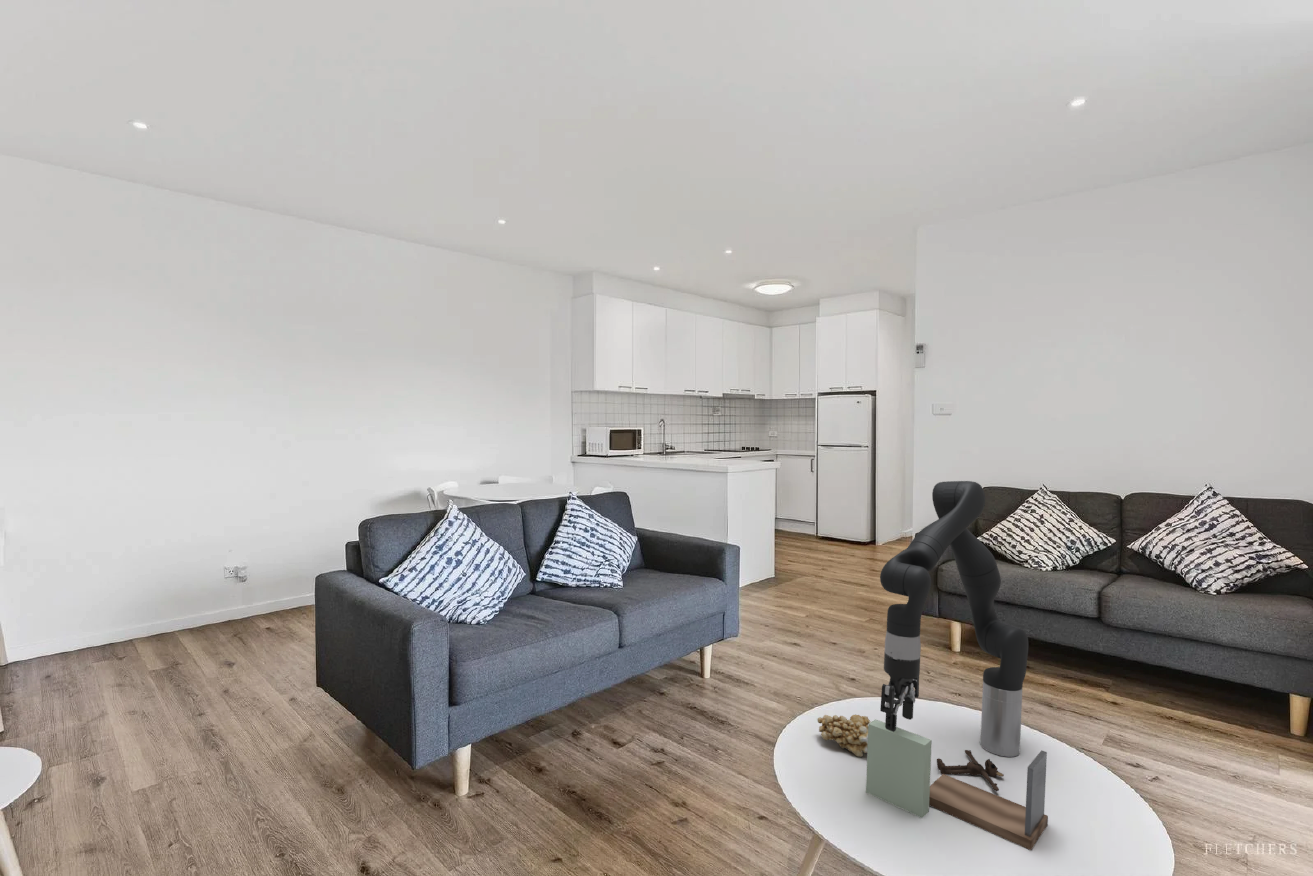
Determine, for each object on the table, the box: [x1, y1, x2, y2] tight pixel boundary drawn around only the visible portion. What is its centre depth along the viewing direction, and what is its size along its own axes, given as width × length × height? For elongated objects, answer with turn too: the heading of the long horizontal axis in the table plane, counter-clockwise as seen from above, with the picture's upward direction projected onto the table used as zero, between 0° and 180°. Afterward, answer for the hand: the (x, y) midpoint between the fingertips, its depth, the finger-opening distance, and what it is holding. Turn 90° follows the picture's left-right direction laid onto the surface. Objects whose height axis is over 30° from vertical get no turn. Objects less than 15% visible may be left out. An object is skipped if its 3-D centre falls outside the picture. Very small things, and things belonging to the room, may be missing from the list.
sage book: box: [865, 718, 932, 819], centre depth 144 cm, size 4×13×16 cm, turn 45°
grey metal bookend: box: [1025, 750, 1048, 837], centre depth 134 cm, size 10×1×14 cm, turn 135°
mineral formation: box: [816, 714, 872, 758], centre depth 170 cm, size 8×13×15 cm
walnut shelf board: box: [929, 774, 1049, 851], centre depth 141 cm, size 12×22×2 cm, turn 45°
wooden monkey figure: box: [936, 749, 1005, 792], centre depth 157 cm, size 18×4×14 cm
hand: (899, 724), depth 144 cm, fingers open, 8 cm apart
